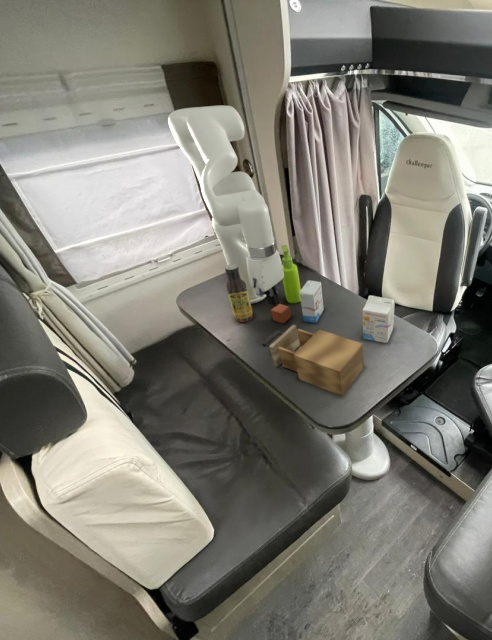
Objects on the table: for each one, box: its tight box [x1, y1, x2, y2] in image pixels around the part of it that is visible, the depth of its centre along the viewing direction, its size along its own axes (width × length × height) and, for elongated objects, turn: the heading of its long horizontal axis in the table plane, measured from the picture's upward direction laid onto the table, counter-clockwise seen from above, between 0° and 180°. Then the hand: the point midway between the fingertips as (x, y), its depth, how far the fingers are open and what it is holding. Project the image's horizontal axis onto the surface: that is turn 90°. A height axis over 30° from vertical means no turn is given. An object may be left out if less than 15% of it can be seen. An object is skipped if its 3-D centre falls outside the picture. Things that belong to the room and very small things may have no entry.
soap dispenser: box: [281, 244, 302, 304], centre depth 130 cm, size 6×7×20 cm
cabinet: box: [294, 329, 364, 397], centre depth 104 cm, size 15×13×10 cm
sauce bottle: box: [224, 264, 254, 323], centre depth 121 cm, size 7×6×20 cm
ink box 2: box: [362, 294, 396, 344], centre depth 117 cm, size 9×8×13 cm
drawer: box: [261, 324, 315, 373], centre depth 108 cm, size 19×11×8 cm, turn 64°
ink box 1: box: [300, 280, 325, 324], centre depth 125 cm, size 9×5×12 cm, turn 168°
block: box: [270, 303, 292, 325], centre depth 126 cm, size 4×4×4 cm
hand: (274, 304), depth 112 cm, fingers closed
